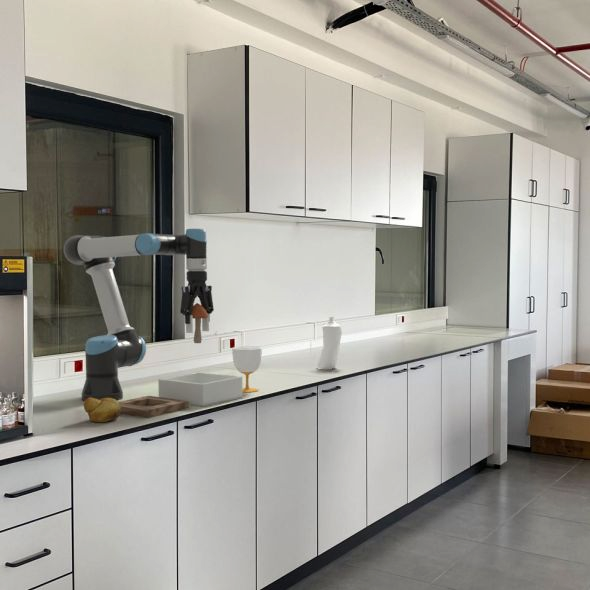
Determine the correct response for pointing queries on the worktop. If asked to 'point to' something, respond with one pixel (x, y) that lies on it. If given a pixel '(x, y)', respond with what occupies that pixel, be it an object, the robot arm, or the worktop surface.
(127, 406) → the board
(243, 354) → the cup
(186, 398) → the bin
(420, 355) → the worktop surface
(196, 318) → the mushroom
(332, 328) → the spray can
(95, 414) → the bread roll
